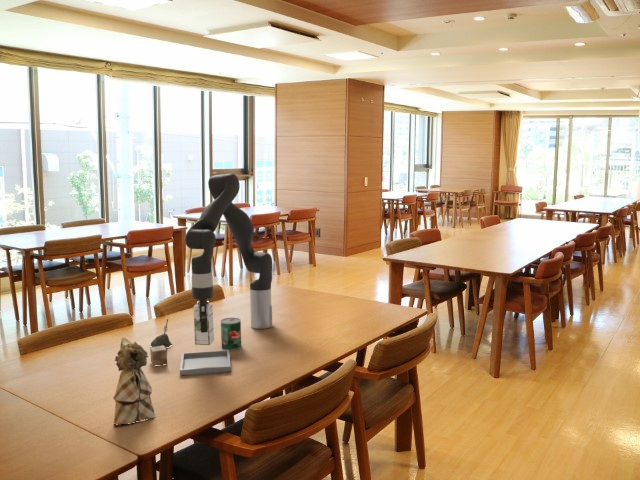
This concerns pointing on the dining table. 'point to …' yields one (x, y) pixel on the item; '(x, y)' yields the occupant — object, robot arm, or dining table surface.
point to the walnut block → (158, 355)
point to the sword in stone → (161, 339)
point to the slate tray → (205, 362)
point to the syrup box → (200, 337)
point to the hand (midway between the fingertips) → (204, 329)
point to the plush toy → (132, 385)
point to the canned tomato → (231, 333)
